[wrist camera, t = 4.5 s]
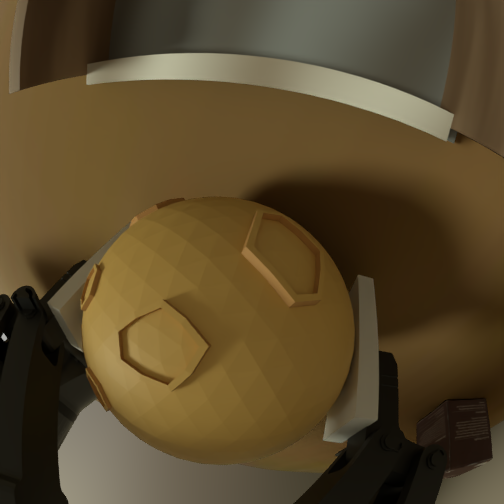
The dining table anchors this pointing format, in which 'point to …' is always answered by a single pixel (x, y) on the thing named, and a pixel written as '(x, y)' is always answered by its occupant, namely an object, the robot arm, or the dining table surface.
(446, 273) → the dining table surface
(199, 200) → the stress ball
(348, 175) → the dining table surface
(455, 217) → the dining table surface
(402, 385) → the dining table surface
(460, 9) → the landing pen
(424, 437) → the box
